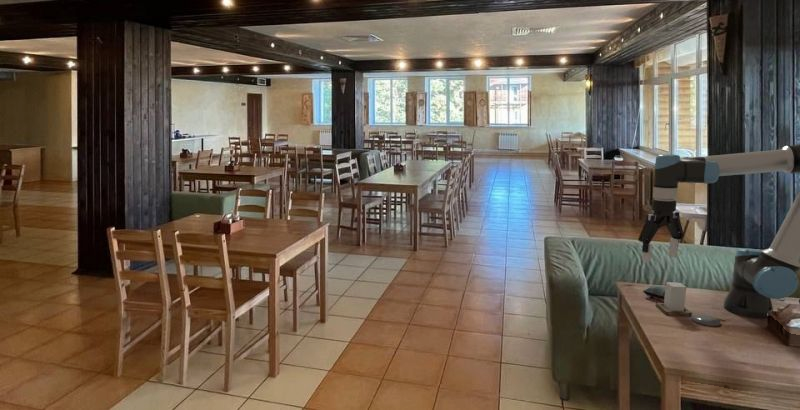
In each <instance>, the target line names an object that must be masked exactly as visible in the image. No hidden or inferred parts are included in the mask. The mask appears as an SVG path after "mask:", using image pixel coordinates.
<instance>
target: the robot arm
mask: <svg viewBox="0 0 800 410" xmlns="http://www.w3.org/2000/svg"><path fill="white" fill-rule="evenodd" d="M653 169H654V171H653V172H654V174H653V176H654V177H653V190H652V198H653V199H652V201H651V209H652V211H653V214H650V213H646V217H645V222H644V223H643V227H642V229H641V231H640V234H639V237H638V239H637V241H638V242H640V243H642V249H641V250H642V260H641V261H643V262H647V263H651V259H652V245H653V244H652V243H651V242H652V240H653V239H654V237H655V236H656V234H657V232H658V230H659V229H661V228H662V227H666V228H667V230H668V232H669V233H670V236H671V237H670V239H669V246H668V247H669V248H668V249H669V251H668V257H672V258H678V249H679V243H680V240H683V237H684V236H685V234H684V230H683V227H682V222H681V219H680V211H677V198H678V190H679V189H678V188H679V183H680V184H682V183H687V184H688V183H690V184H693V183H694V184H705V185H706V184H714V183H716V182H717V181H718V180H719V177H724V176H734V175H736V176H737V175H738V176H740V175H750V174H761V173H763V174H764V173H776V172H784V173H785V174H786V175H787V174H788V175H789V174H800V144H794V145H792V144H791V145H784V146H783V147H782V148H781V149H774V150H773V149H772V150H761V151H759V150H758V151H752V152H751V151H750V152H738V153H728V154H718V155H716V154H715V155H706V156H695V157H694V156H693V157H689V156H686V157H684V156H683V157H681V156H680V155H679V154H669V153H668V154H665V153H664V154H663V153H661V154H658V155H656V157H655V162H654V168H653ZM799 259H800V190H799V192H798V193H797V195H796V197H795V199H794V201H793V202H792V205H791V207H790V208H789V210H788V212H787V214H786V216H785V218H784V220H783V222H782V223H781V225H780V227H779V229H778V231H777V232H776V235H775V236H774V238H773V240H772V242H771V244H770V246H769V247H768V248H765V249H757V248H756V249H755V248H738V249H737V250H736V253H735V256H734V263H733V264H734V265H733V272H732V281H731V288H730V289H729V291H728V293H727V295H726V297H725V298H724V302H723V307H724V309H725V310H727V311H729V312H731V313H733V314H737V315H740V316H744V317H745V316H746V317H750V318H751V317H752V318H762V319H763V318H768V317H767V313H768V311H773V312H774V307H773V303H772V299H774V300H780V299H784V298H787V297H789V296H791V295H793V294H794V293H795V292H796V290H797V289H798V286H799V279H798V278H799V277H798V275H797V274H798V272H799V270H800V261H799Z"/></svg>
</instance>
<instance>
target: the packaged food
mask: <svg viewBox="0 0 800 410" xmlns="http://www.w3.org/2000/svg"><path fill="white" fill-rule="evenodd" d="M665 288H666V286H665V285H664V286H663V285H657V284H653V285H651V286H649V287H648V288H647V289H644V290H642V292H643V294H645V295H646V296H647V297H648V298H651V297H652V299H655V300H659V301H662V302H664V298H665Z"/></svg>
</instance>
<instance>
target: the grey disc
mask: <svg viewBox="0 0 800 410" xmlns="http://www.w3.org/2000/svg"><path fill="white" fill-rule="evenodd" d="M690 320H691V321H692V322H693V323H695V324H698V325H701V326H707V327H718V326H720V325H721V320H720V319H719V318H717V317H716V316H715V317H714V316H712V315H707V314H702V313H701V314H700V313H697V314H696V313H694V314H693V313H692V315H691V316H690Z"/></svg>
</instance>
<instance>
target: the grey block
mask: <svg viewBox="0 0 800 410" xmlns="http://www.w3.org/2000/svg"><path fill="white" fill-rule="evenodd" d="M665 287H666V288H665V298H664V301H663V303H664V308H665V309H666V310H667V311H684V307H685V301H686V293H687V286H685V284H683V283H681V282H670V281H666V282H665Z"/></svg>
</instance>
